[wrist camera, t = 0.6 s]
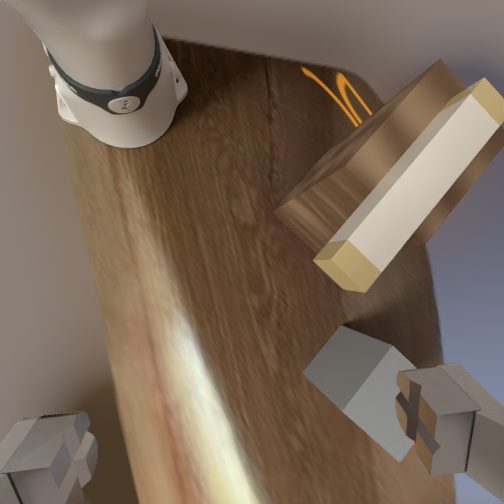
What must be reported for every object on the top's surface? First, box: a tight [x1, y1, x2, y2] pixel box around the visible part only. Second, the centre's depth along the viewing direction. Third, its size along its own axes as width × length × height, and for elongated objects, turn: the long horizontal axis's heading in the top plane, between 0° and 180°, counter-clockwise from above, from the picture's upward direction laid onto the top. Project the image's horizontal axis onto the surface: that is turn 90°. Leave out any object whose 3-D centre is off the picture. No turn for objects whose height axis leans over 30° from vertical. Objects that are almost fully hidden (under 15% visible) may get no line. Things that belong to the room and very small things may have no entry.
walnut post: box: [272, 59, 504, 254], centre depth 43 cm, size 14×10×26 cm
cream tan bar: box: [313, 78, 504, 293], centre depth 28 cm, size 20×4×4 cm, turn 137°
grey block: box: [302, 325, 417, 462], centre depth 49 cm, size 10×10×14 cm
